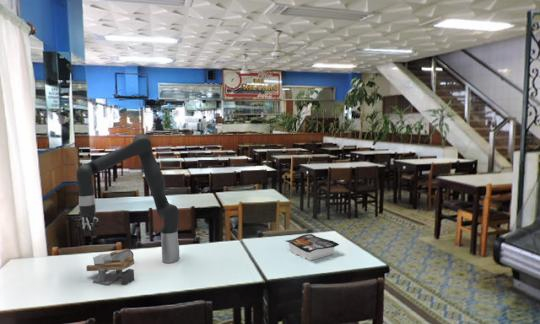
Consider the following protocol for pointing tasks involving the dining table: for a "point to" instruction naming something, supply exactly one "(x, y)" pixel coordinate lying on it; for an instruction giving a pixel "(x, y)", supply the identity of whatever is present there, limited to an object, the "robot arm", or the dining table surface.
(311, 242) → the food packaging
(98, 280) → the pivot stand
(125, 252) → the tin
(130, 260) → the balance beam
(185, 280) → the dining table surface
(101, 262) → the block
